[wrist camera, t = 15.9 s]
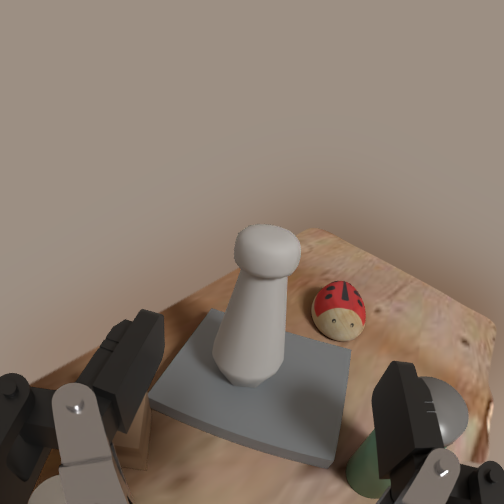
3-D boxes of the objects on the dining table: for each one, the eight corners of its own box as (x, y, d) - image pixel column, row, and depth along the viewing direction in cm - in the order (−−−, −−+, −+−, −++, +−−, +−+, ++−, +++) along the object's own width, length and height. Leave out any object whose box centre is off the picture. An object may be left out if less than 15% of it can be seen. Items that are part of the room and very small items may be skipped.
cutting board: (147, 406, 23) (145, 396, 22) (210, 319, 34) (211, 308, 33) (327, 468, 20) (333, 460, 19) (346, 359, 31) (351, 349, 30)
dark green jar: (339, 494, 18) (398, 436, 13) (349, 441, 22) (398, 369, 18) (400, 502, 17) (472, 444, 12) (404, 451, 21) (462, 383, 17)
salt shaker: (201, 384, 24) (210, 239, 18) (222, 340, 29) (237, 208, 23) (271, 403, 24) (312, 263, 18) (283, 356, 29) (317, 226, 23)
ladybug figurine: (309, 340, 34) (317, 315, 32) (310, 290, 42) (316, 267, 41) (366, 349, 33) (378, 325, 31) (357, 299, 42) (365, 277, 40)
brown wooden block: (82, 459, 17) (65, 435, 15) (93, 409, 22) (82, 379, 20) (146, 471, 18) (138, 448, 16) (152, 417, 22) (146, 388, 20)
